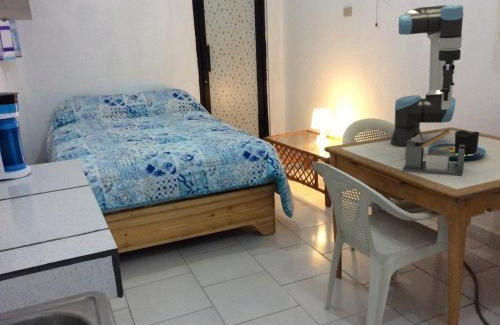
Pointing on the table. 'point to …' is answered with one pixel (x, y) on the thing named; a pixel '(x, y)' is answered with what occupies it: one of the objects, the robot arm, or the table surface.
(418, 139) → the electrical switch
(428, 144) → the strap
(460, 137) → the pen holder
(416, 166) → the base
